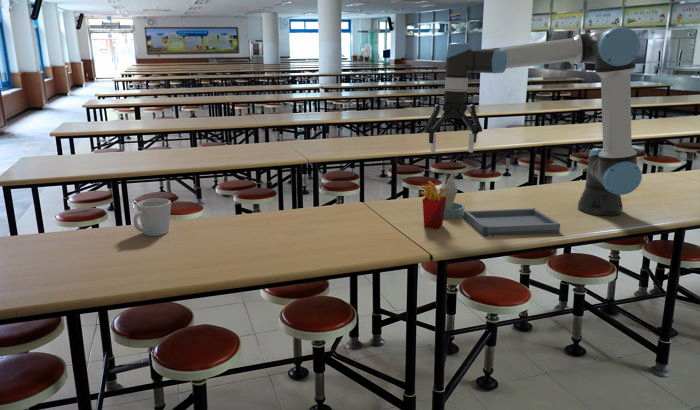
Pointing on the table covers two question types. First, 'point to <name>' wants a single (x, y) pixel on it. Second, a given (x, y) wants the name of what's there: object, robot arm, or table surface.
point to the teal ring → (454, 211)
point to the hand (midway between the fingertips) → (451, 152)
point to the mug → (153, 216)
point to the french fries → (433, 206)
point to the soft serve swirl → (450, 192)
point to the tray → (511, 222)
